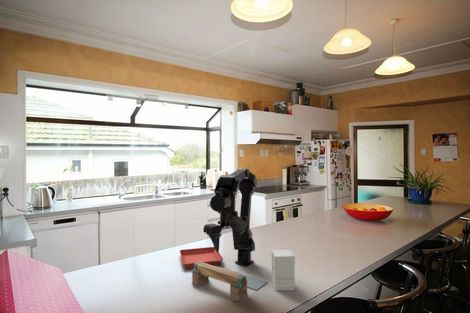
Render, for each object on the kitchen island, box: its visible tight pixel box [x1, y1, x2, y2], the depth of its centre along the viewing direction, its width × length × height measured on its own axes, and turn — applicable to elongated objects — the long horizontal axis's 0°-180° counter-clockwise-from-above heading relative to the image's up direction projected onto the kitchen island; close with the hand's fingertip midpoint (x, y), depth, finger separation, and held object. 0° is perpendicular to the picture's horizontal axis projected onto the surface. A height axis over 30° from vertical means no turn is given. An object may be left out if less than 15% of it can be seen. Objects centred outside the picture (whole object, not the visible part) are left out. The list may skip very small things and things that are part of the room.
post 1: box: [191, 268, 210, 287], centre depth 106 cm, size 6×3×5 cm, turn 144°
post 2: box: [229, 279, 248, 302], centre depth 95 cm, size 6×3×5 cm, turn 144°
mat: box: [218, 266, 268, 291], centre depth 109 cm, size 8×24×1 cm, turn 54°
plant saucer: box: [179, 246, 224, 269], centre depth 127 cm, size 18×18×3 cm
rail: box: [193, 261, 246, 288], centre depth 100 cm, size 3×22×3 cm, turn 54°
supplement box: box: [271, 249, 296, 292], centre depth 103 cm, size 7×7×13 cm
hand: (226, 249), depth 104 cm, fingers open, 9 cm apart
